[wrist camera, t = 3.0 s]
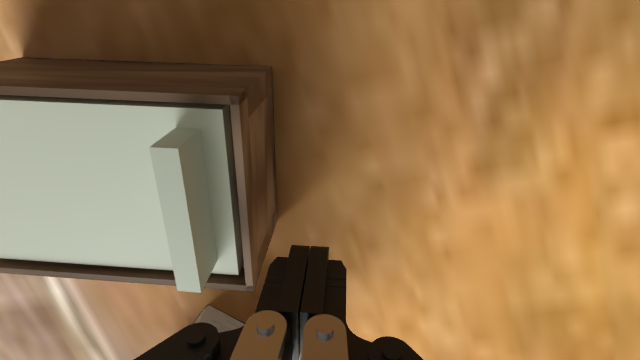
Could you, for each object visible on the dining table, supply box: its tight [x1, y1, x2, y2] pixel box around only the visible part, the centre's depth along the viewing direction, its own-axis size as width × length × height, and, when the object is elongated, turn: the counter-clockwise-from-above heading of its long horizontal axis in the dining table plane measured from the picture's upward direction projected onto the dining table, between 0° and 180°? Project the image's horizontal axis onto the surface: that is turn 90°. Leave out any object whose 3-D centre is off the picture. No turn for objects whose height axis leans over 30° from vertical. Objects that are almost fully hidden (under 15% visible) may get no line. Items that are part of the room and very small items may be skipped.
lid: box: [0, 95, 243, 293], centre depth 18 cm, size 10×15×4 cm, turn 89°
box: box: [0, 58, 277, 292], centre depth 22 cm, size 11×16×7 cm
